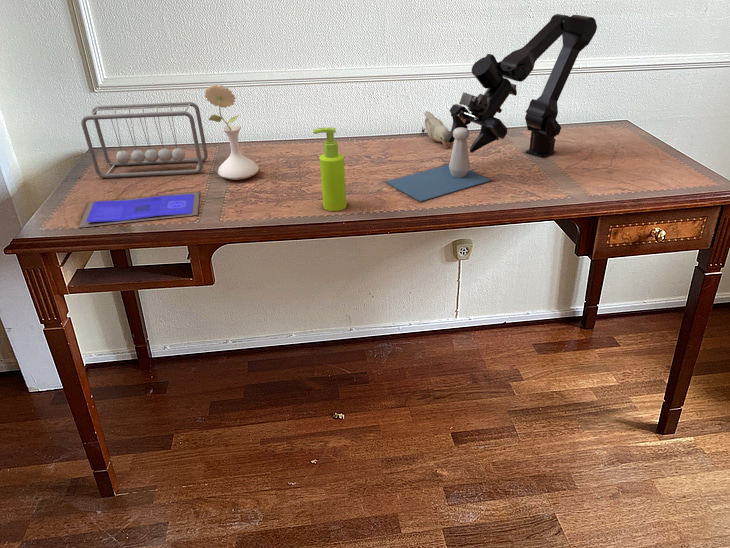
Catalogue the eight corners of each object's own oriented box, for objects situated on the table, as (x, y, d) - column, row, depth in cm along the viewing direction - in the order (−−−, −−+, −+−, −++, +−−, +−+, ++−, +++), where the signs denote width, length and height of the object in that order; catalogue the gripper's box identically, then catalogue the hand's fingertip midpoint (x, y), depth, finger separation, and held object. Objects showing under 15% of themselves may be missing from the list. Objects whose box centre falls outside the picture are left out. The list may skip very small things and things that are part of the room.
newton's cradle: (97, 179, 172) (78, 116, 162) (107, 165, 180) (90, 105, 171) (203, 173, 174) (191, 111, 164) (209, 160, 182) (198, 101, 173)
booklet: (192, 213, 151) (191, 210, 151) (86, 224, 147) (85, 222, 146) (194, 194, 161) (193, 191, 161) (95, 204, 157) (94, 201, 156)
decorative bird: (439, 150, 186) (440, 125, 182) (418, 134, 199) (418, 111, 195) (455, 147, 188) (456, 123, 184) (433, 132, 201) (433, 109, 196)
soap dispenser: (319, 202, 156) (312, 125, 145) (346, 200, 156) (341, 124, 145) (319, 212, 151) (312, 133, 140) (346, 210, 151) (342, 131, 140)
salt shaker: (473, 176, 168) (476, 129, 160) (456, 180, 165) (458, 133, 158) (461, 169, 172) (463, 124, 165) (444, 173, 170) (446, 127, 162)
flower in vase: (267, 171, 174) (255, 82, 160) (243, 186, 165) (229, 92, 152) (230, 165, 179) (215, 78, 165) (205, 179, 170) (188, 88, 156)
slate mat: (454, 163, 177) (454, 162, 176) (490, 181, 165) (490, 180, 165) (385, 182, 166) (385, 181, 166) (420, 202, 155) (420, 201, 154)
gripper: (456, 73, 164) (422, 121, 165) (503, 87, 151) (466, 139, 152) (476, 98, 172) (444, 143, 173) (522, 113, 158) (488, 163, 160)
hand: (459, 147), depth 164 cm, fingers open, 9 cm apart
